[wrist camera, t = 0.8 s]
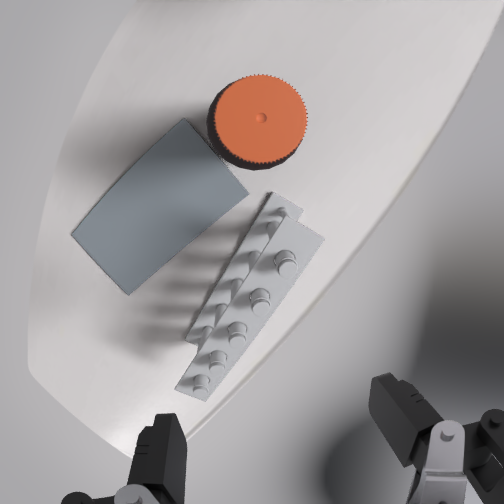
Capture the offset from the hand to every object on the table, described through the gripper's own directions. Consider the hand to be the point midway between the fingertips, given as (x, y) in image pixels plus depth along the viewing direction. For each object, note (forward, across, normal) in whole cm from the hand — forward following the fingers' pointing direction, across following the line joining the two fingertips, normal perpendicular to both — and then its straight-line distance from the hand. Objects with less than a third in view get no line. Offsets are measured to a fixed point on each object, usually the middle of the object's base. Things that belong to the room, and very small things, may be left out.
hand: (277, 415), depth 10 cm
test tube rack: (+30, 0, +4) cm, 30 cm away
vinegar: (+26, -3, -15) cm, 31 cm away
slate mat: (+29, +10, -7) cm, 31 cm away
